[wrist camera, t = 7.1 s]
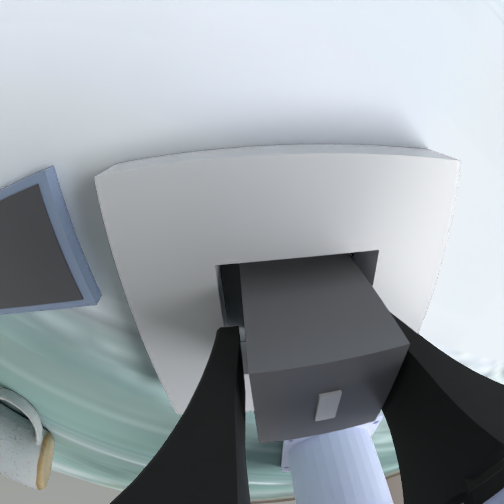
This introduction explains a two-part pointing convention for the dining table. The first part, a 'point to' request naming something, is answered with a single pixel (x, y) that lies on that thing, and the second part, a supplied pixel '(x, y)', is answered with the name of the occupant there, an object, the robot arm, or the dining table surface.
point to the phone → (40, 249)
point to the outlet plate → (268, 233)
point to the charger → (316, 346)
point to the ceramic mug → (24, 443)
